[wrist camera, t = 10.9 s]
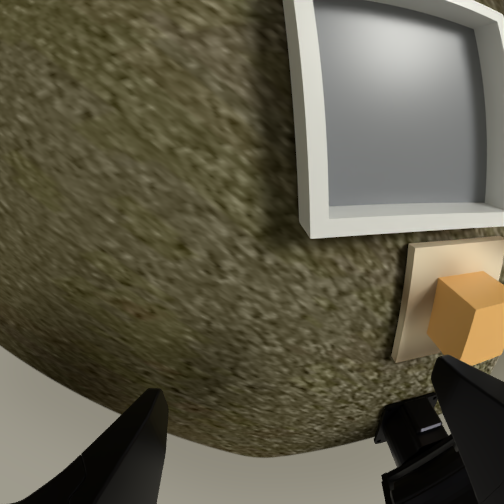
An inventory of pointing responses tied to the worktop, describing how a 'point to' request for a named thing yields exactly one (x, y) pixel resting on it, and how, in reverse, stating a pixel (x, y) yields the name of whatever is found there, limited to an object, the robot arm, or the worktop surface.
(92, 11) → the worktop surface
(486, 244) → the pad
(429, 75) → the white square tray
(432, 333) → the block
